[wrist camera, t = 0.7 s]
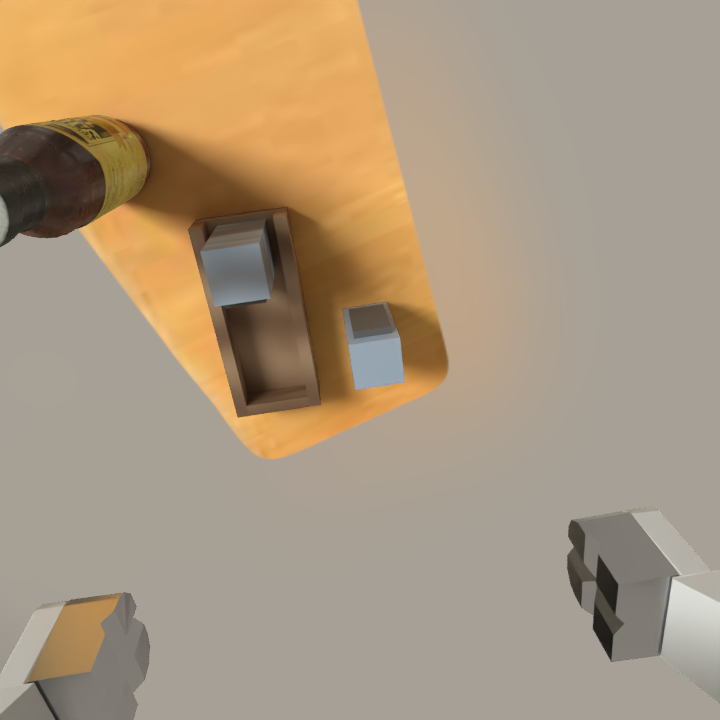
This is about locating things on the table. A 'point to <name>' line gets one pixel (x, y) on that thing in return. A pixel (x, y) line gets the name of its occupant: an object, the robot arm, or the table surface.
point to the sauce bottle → (67, 174)
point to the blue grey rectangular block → (373, 346)
